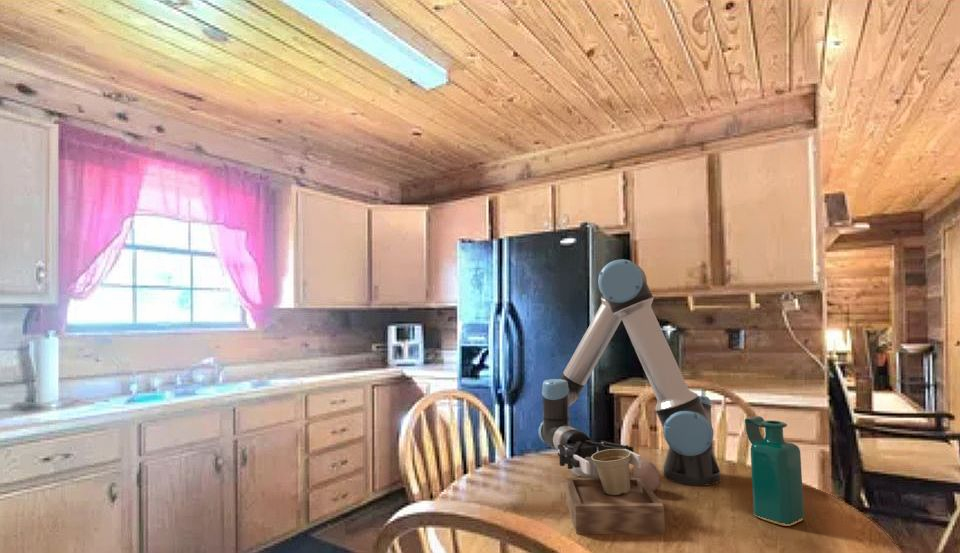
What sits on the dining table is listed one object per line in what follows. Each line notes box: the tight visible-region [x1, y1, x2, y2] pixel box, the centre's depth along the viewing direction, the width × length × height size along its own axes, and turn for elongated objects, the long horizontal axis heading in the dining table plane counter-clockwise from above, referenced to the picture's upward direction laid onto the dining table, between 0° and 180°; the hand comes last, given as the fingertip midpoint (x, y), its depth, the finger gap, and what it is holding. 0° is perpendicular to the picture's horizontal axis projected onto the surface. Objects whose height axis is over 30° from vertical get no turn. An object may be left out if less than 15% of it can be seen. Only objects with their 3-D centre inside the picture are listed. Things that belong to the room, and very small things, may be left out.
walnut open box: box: [565, 476, 666, 535], centre depth 124 cm, size 19×19×6 cm
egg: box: [630, 459, 660, 492], centre depth 140 cm, size 7×7×8 cm
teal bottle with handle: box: [744, 415, 805, 524], centre depth 122 cm, size 10×8×22 cm
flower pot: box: [591, 449, 631, 495], centre depth 128 cm, size 9×9×9 cm
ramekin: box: [569, 450, 600, 478], centre depth 157 cm, size 13×13×7 cm
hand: (614, 464), depth 123 cm, fingers open, 13 cm apart
